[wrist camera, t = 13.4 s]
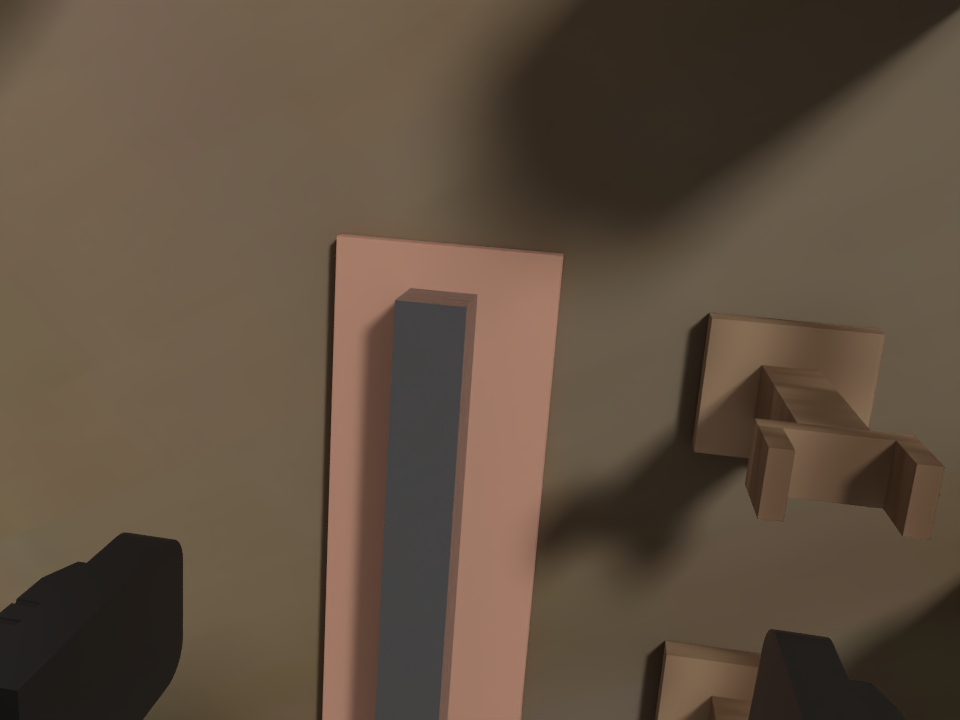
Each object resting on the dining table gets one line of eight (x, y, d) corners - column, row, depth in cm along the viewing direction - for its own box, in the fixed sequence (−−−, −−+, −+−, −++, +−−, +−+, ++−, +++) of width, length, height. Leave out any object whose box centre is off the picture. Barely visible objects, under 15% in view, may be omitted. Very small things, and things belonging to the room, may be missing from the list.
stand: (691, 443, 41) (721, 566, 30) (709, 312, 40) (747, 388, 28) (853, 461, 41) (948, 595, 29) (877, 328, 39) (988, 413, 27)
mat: (325, 765, 48) (320, 776, 48) (341, 234, 41) (336, 235, 41) (513, 796, 47) (512, 807, 46) (564, 253, 40) (562, 256, 39)
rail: (386, 753, 47) (371, 794, 44) (410, 287, 41) (394, 300, 38) (444, 762, 46) (433, 804, 44) (477, 294, 40) (466, 307, 38)
